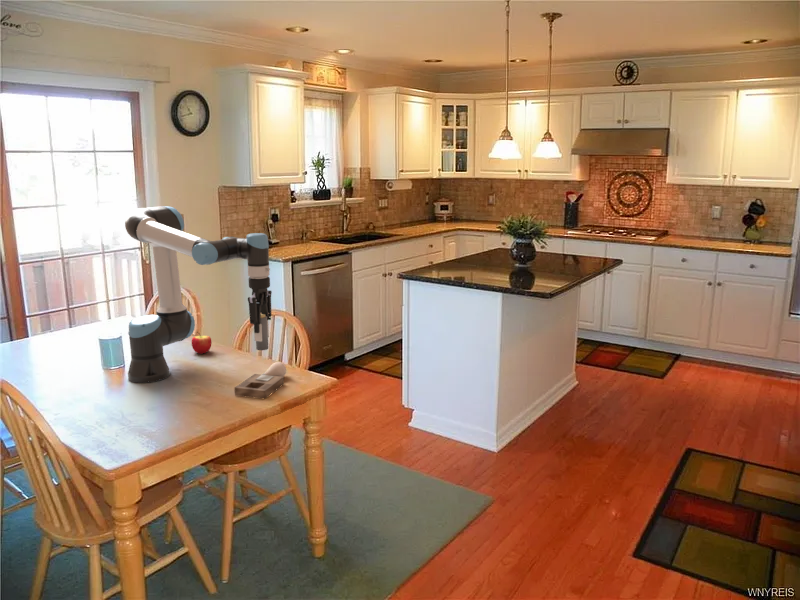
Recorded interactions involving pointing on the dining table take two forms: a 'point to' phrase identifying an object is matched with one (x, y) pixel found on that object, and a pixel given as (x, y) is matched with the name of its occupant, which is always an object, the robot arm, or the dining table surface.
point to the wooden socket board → (259, 386)
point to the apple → (201, 344)
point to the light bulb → (276, 370)
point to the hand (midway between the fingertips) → (261, 338)
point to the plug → (263, 334)
